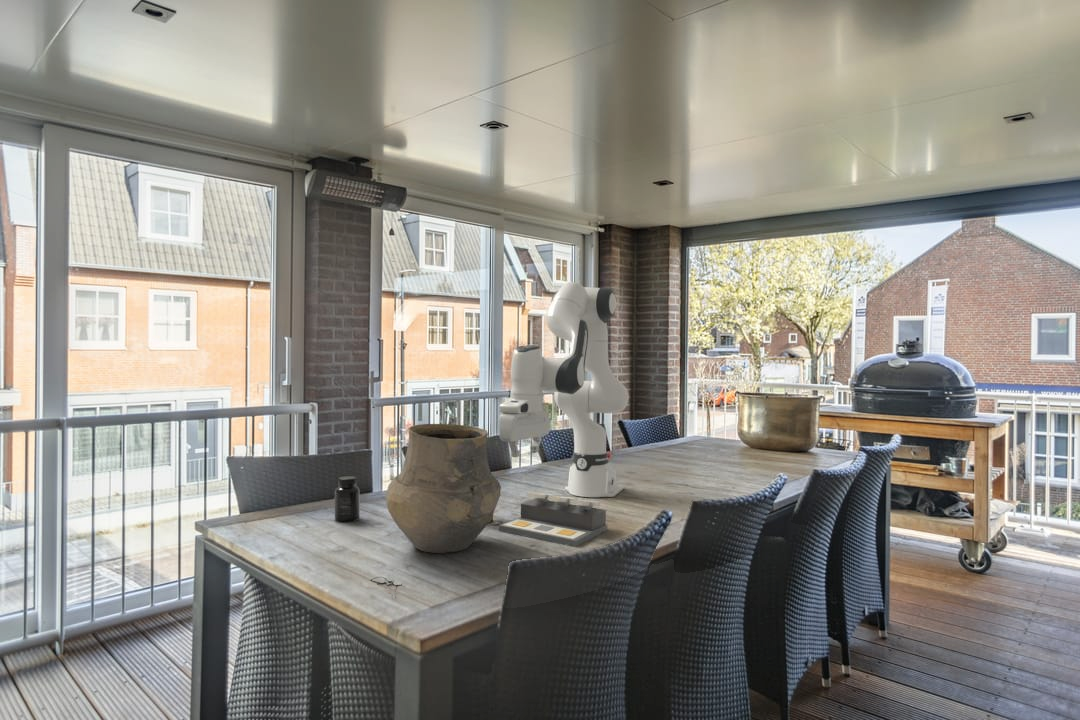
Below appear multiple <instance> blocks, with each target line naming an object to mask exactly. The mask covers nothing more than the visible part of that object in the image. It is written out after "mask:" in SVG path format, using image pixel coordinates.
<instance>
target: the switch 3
mask: <svg viewBox="0 0 1080 720" xmlns="http://www.w3.org/2000/svg"><path fill="white" fill-rule="evenodd" d="M570 504H573V505H577V508H578V509H584V510H592V508H594V507H600V506H601V502H600V501H594V500H589V499H588V500H584V499H578V500H570Z"/></svg>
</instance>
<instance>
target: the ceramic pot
mask: <svg viewBox="0 0 1080 720" xmlns="http://www.w3.org/2000/svg"><path fill="white" fill-rule="evenodd" d="M488 437H489V433H488V430H486V429H483V428H479V427H475V426H470V425H464V424H463V425H462V424H452V423H423V424H416V425H411V426H410V427H408V443H407V447H406V449H407V450H406V452H405V457H404V462H403V465H402V469H401V472H400V473H399V474H397V475H396V476H394V477H393V479H392V480H391V481H390V483H389V484H388V486H387V490H386V493H385V503H386V506H387V510H388V512H389V514H390V516H391V518H392V520H393V521H394V523H395V524H396V525H397V527H398V528H399V530H401V532H402V533H403V534H404V535H405V537H406V538H407V540H408V541H409V542H410V543H411V544H412V545H413V547H414V548H416V549H417V550H418V549H419V550H418V551H420V550H421V552H422V551H425V552H424V553H427V552H432V553H431V554H447V553H446V552H450V553H455V552H454V551H457V552H461V551H463V549H464V550H466V549H468V548H469V547H470V546H471V545H472V543H473V542H474V541H475V540H476V539H477V538H478V536H479V535H480V534H481V533H482V532H483V530H485V528H486V527H487V526H489V525H488V524H489V523H490V521H491V519H492V516H493V517H494V513H495V510H496V508H497V505H498V503H499V500H500V497H501V489H502V487H501V484H500V482H499V480H498V479H497V478H496V476H494V475H493V474H492V471H491V467H490V466H489V465H490V464H489V461H488V456H487V440H488ZM465 548H466V549H465ZM460 550H461V551H460Z"/></svg>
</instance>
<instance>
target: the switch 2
mask: <svg viewBox="0 0 1080 720" xmlns="http://www.w3.org/2000/svg"><path fill="white" fill-rule="evenodd" d="M548 500H549V501H555V504H556V505H560V506H566V507H569V506H570V500H579V498H576V497H568V496H558V495H557V497H554V496H548Z"/></svg>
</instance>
